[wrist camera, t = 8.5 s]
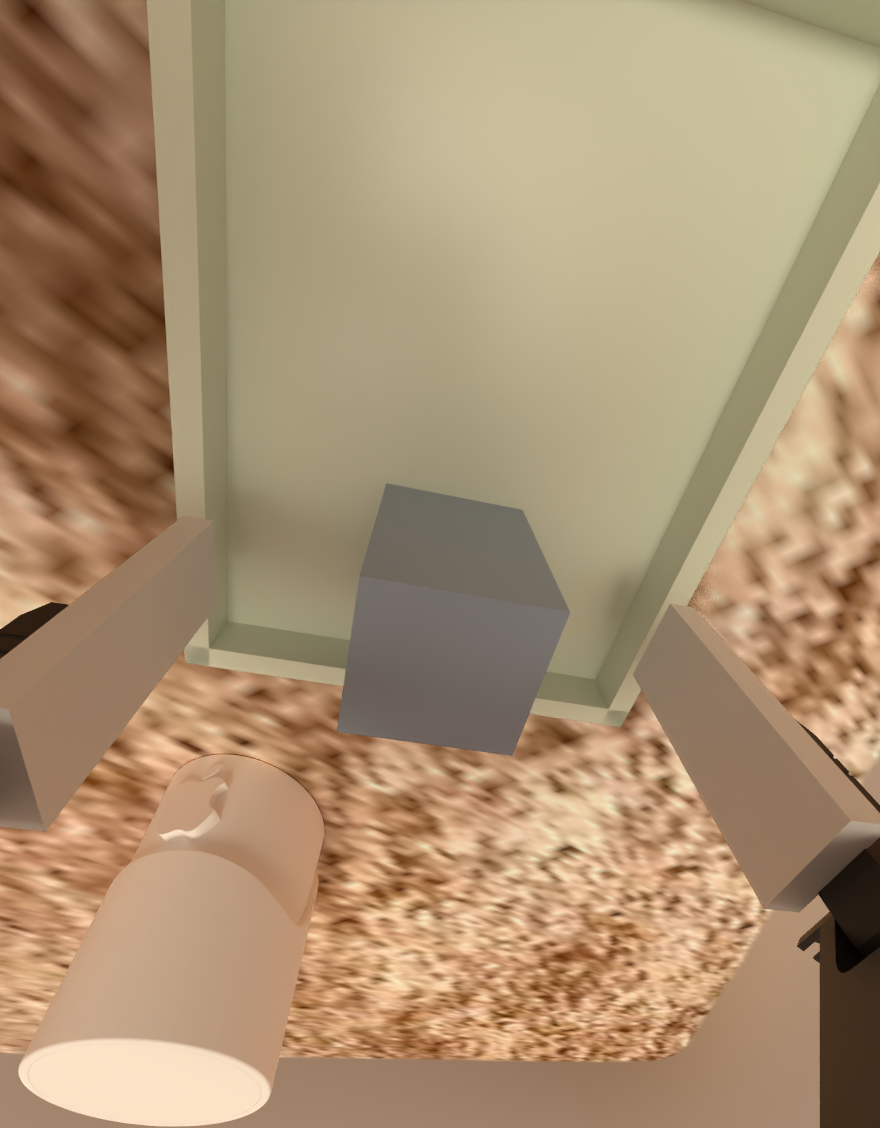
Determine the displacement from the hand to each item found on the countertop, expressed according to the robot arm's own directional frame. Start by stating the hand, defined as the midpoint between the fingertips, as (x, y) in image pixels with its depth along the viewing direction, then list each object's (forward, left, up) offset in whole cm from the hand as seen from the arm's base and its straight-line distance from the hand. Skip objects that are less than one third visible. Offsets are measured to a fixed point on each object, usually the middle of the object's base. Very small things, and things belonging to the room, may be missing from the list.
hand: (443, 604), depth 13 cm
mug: (+18, -6, -4) cm, 19 cm away
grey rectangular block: (0, 0, -3) cm, 3 cm away
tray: (-5, 0, -4) cm, 6 cm away
